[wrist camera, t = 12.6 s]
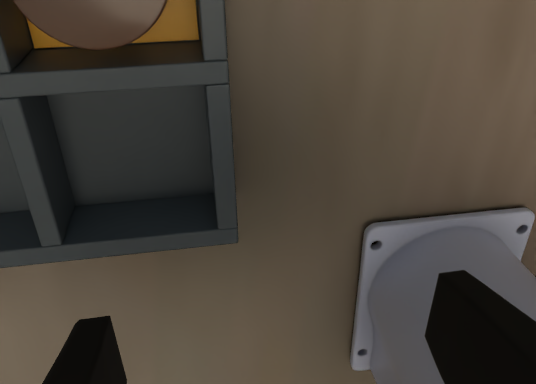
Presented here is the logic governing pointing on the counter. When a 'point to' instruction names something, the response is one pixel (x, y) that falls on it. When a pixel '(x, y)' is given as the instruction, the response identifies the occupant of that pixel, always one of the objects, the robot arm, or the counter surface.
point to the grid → (116, 140)
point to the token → (93, 20)
